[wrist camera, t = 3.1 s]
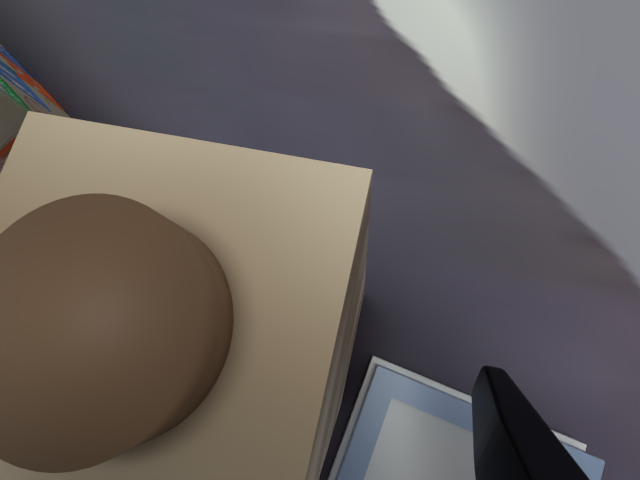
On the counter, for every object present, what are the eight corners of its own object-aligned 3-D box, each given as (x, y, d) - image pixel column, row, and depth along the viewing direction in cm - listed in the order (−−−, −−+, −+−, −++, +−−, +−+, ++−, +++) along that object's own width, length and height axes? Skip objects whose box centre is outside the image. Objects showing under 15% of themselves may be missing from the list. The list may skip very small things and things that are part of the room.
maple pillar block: (341, 402, 16) (242, 731, 3) (238, 374, 17) (-257, 525, 3) (363, 294, 17) (375, 133, 4) (265, 272, 18) (-32, 69, 4)
